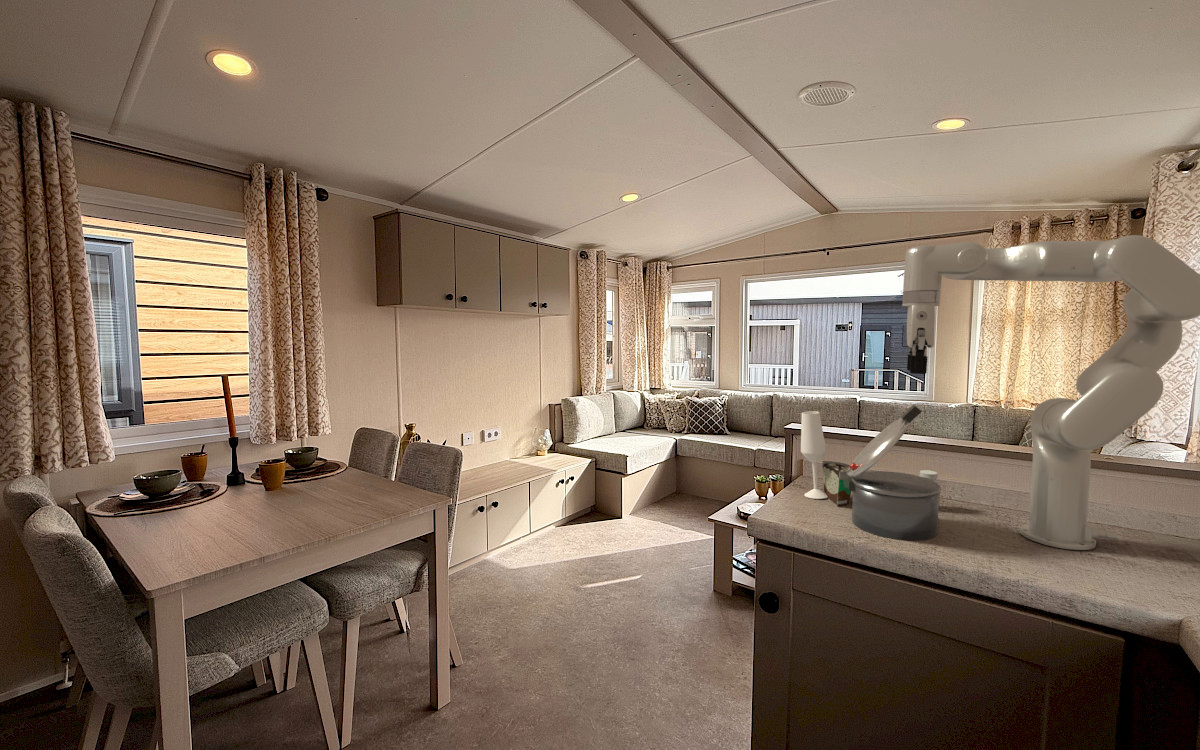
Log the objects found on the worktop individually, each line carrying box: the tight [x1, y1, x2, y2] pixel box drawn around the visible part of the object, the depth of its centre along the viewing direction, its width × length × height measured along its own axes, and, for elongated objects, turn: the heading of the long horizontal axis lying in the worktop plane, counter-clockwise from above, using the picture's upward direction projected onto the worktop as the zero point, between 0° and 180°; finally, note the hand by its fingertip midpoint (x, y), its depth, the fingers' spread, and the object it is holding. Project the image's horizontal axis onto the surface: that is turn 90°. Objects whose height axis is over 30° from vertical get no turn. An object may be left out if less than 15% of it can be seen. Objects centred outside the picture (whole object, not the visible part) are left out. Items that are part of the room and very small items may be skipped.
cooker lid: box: [847, 404, 922, 478], centre depth 123 cm, size 22×19×2 cm
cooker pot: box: [849, 470, 942, 542], centre depth 123 cm, size 19×19×11 cm
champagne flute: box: [800, 410, 827, 500], centre depth 146 cm, size 7×7×24 cm
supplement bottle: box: [919, 469, 941, 503], centre depth 135 cm, size 5×5×10 cm
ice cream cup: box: [821, 460, 852, 508], centre depth 141 cm, size 12×6×10 cm, turn 178°
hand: (916, 372), depth 121 cm, fingers open, 9 cm apart
